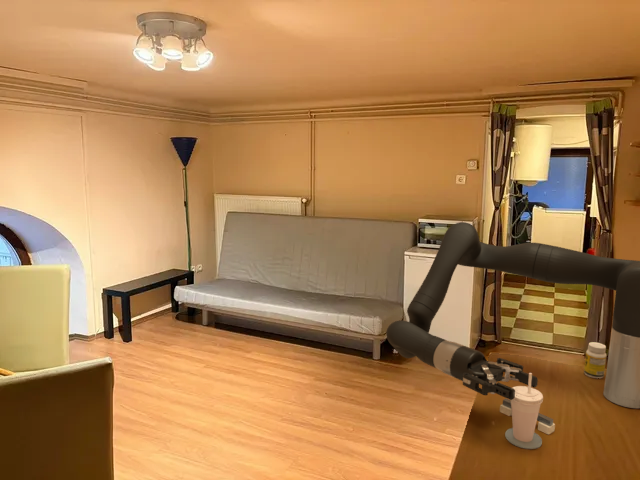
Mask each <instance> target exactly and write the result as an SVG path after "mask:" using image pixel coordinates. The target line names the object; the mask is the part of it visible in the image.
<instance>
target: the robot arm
mask: <svg viewBox="0 0 640 480" xmlns="http://www.w3.org/2000/svg"><path fill="white" fill-rule="evenodd" d="M457 266H463V267H470V268H477V269H487V270H493V271H498V272H504V273H507V274H511V275H516V276H520V277H525V278H528V279H534V280H537V281H541V282H546V283H553V284H558V285H560V284H563V285H590V286H597V287H601V288H606V289H608V290H613V291H615V296H614V304H613V305H614V306H613V312H612V323H611V333H610V341H609V349H608V357H607V364H606V369H605V371H606V372H605V379H604V387H603V396H604V398H605V399H607V400H608V401H610V402H611V403H613V404H615V405H618V406H621V407H625V408H631V409H640V260H634V259H624V258H623V259H620V258H615V257H614V258H611V257H606V256H605V257H604V256H599V255H593V254H589V253H587V252H582V251H579V250H573V249H569V248H565V247H561V246H556V245H550V244H547V243H546V244H545V243H540V242H526V243H525V242H524V243H518V244H514V245H508V246H504V245H502V246H501V245H500V246H499V245H494V244H489V243H485V242H481V241H480V237H479V233H478V231H477V229H476V227H475V226H474V225H472V224H471V223H469V222H465V221H464V222H463V221H461V222H455V223H454V224H452V225H451V226H450V227H448V229H447V230H446V231H445V233H444V235H443V238H442V240H441V242H440V245H439V248H438V250H437V253H436V255H435V258H434V260H433V262H432V264H431V265H430V268H429V270H428V272H427V274H426V276H425V278H424V279H423V281H422V283H421V285H420V287H419V288H418V290H417V291H416V293H415V295H414V296H413V298H412V300H411V301H410V303H409V304H408V307H407V309H406V313H407V316H408V319H409V321H408V320H404V319H403V320H402V319H401V320H396V321H393V322H391V323H390V324H389V325H388V327H387V328H386V331H385V334H386V339H387V341H388V343H389V344H390V345H391V346H392V347H393V349H395V351H396V352H397V353H398V354H399V355H400V356H401V357H403V358H404V359H411V358H415V357H417V358H418V359H419V360H420V361H421V362H422V363H424V364H426V365H429V366H430V367H432V368H435V369H437V370H438V371H441V372H442V373H444V374H446V375H447V376H450V377H452V378H455V379H457V380H459V381H462V385H463V386H464V387H467V388H468V389H470V390H472V391H474V392H476V393H478V394H480V395H483V396H488V394H491V395H497V396H498V395H499V396H501V397H503V398H504V399H509V400H512V399H514V398H515V390H514V389H513V387H510V386H508V385H506V384H503V383H501V382H507V383H508V382H509V381H517V382H519V383H521V384H523V385H526V386H528V380H529V373H528V372H525V371H524V366H523V365H522V364H519V363H517V362H513V361H510V360H507V359H505V358H501V357H497V358H496V361H495V362H494V361H488V360H487V359H486V357H485V355H484V353H483V352H481V351H479V350H477V349H474V348H471V347H468V346H466V345H463V344H461V343H458V342H455V341H450V340H447V339H444V338H441V337H439V336H436V335H433V334H431V333H430V330H431V326H432V322H433V320H434V319H435V317H436V316H437V315H436V314H437V313H438V312H439V309H440V308H441V306H442V305H443V302H444V300H445V298H446V295H447V293H448V290H449V287H450V285H451V282H452V277H453V275H454V272H455V270H456V268H457ZM538 380H539V378H538V376H535V375H533V374H532V380H531V388H536V387H537V386H538V382H539V381H538ZM480 385H481V387H480Z"/></svg>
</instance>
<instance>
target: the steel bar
mask: <svg viewBox="0 0 640 480" xmlns="http://www.w3.org/2000/svg"><path fill="white" fill-rule="evenodd" d="M502 404H503V405H504V406H506V407H508V408H511V400H510V399H507V398H504V399H502ZM537 422H538V423H539V422H541V423H544V424H546V425H548V426H551V425H553V423H554V418H552V417H549V416H547V415H544V414H543V413H540V412H539V413H538V417H537Z"/></svg>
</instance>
